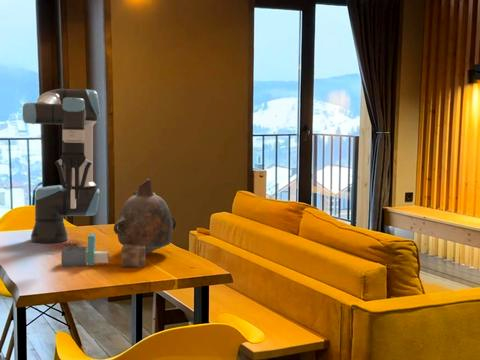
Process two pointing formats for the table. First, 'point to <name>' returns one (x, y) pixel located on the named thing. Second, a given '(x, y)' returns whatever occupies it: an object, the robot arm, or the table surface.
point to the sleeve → (73, 257)
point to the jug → (145, 220)
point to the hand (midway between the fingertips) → (73, 208)
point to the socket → (133, 255)
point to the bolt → (95, 252)
